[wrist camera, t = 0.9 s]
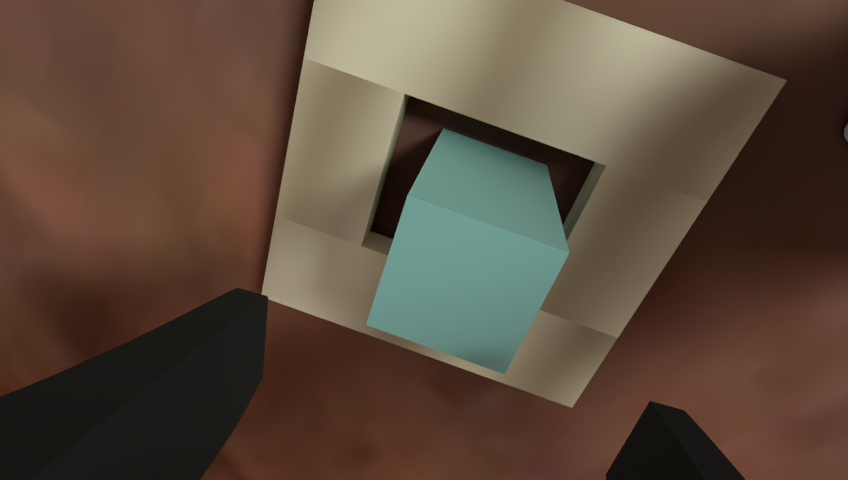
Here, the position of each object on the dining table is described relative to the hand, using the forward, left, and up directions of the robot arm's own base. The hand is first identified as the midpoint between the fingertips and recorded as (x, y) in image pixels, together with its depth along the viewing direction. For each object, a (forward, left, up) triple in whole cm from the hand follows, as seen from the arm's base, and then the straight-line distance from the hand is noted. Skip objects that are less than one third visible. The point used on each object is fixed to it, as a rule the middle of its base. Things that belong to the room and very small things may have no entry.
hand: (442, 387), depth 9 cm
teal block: (0, 0, -10) cm, 10 cm away
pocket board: (0, 0, -10) cm, 10 cm away
